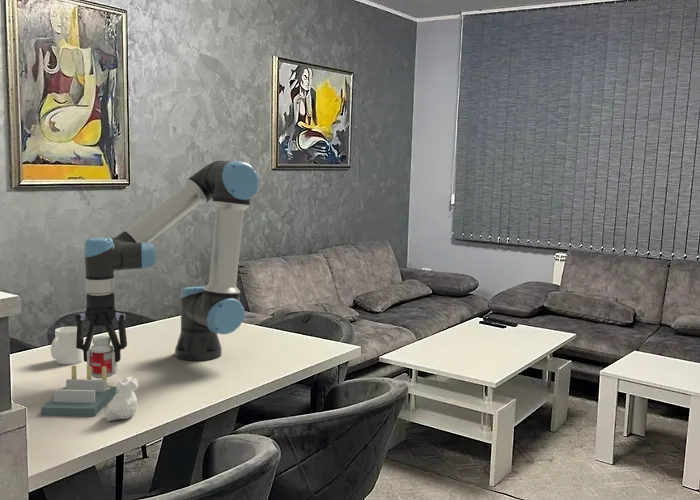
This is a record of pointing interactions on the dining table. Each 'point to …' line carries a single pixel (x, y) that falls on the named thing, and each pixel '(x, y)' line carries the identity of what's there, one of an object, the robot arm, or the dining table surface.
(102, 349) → the pill bottle
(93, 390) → the board
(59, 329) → the mug
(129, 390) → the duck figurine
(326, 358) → the dining table surface
